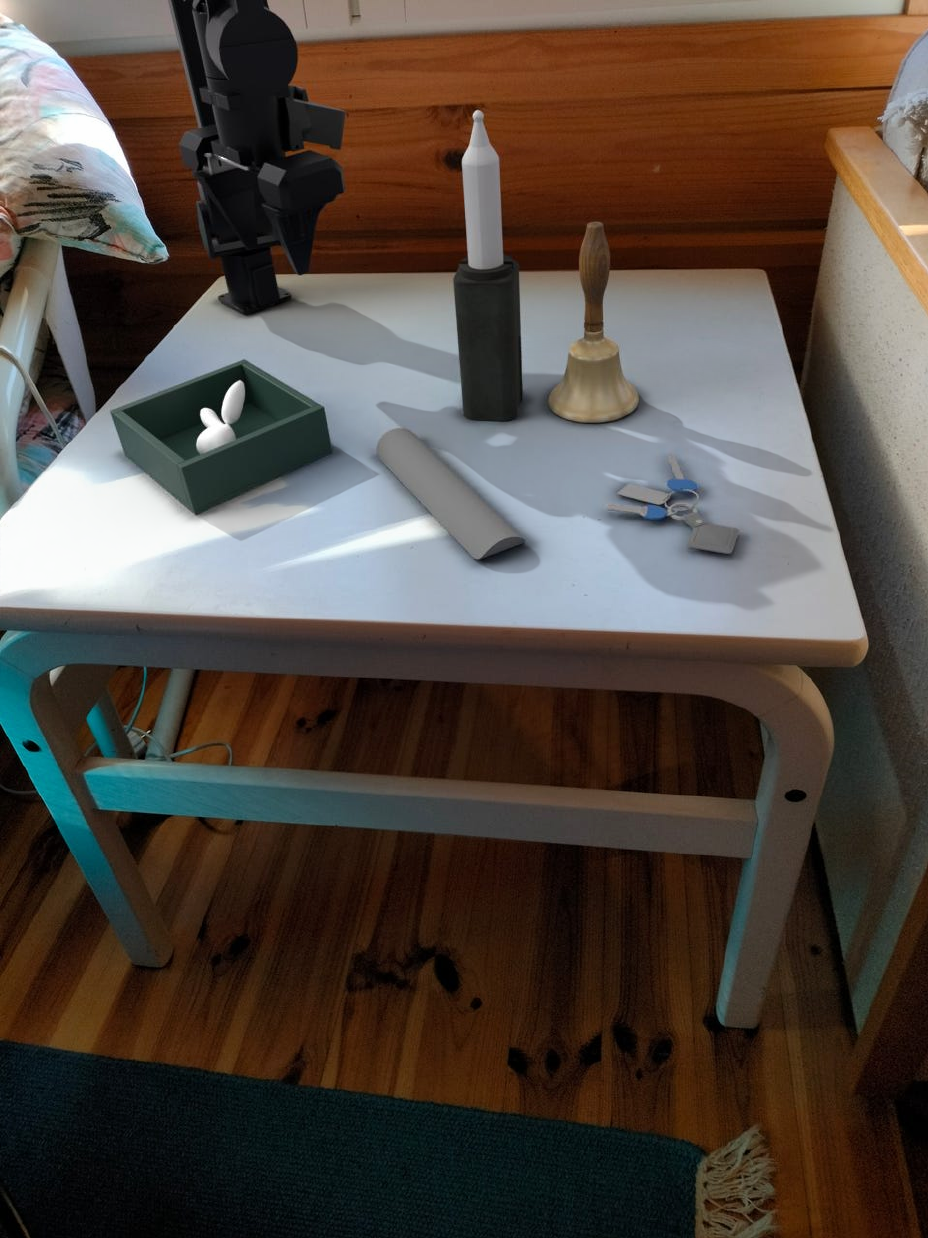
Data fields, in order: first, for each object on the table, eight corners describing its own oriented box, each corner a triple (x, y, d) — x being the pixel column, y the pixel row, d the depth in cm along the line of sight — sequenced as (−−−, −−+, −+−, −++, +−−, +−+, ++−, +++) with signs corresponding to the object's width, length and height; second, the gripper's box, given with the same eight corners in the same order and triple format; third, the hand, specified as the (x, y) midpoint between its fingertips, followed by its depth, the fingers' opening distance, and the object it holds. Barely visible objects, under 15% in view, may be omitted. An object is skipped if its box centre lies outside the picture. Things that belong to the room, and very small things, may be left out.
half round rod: (481, 567, 71) (479, 548, 70) (373, 453, 84) (370, 435, 83) (530, 548, 72) (530, 529, 71) (416, 439, 86) (414, 421, 84)
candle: (516, 421, 87) (505, 118, 71) (461, 419, 88) (437, 119, 72) (524, 394, 91) (516, 100, 74) (471, 393, 92) (452, 102, 75)
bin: (124, 455, 87) (109, 410, 84) (254, 402, 93) (244, 358, 90) (195, 515, 79) (181, 467, 76) (332, 452, 85) (324, 406, 82)
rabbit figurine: (177, 476, 83) (188, 398, 86) (215, 493, 85) (224, 418, 88) (219, 451, 79) (229, 371, 82) (257, 471, 82) (265, 392, 85)
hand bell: (533, 414, 88) (529, 236, 77) (569, 374, 93) (570, 203, 83) (619, 430, 84) (627, 247, 74) (651, 389, 90) (663, 212, 80)
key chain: (753, 552, 70) (754, 543, 69) (647, 576, 69) (648, 566, 68) (672, 458, 80) (673, 449, 80) (579, 477, 79) (579, 468, 78)
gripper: (386, 67, 77) (405, 261, 87) (268, 39, 88) (297, 214, 99) (265, 97, 72) (301, 299, 82) (156, 63, 83) (200, 244, 94)
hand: (276, 260), depth 89 cm, fingers open, 9 cm apart
